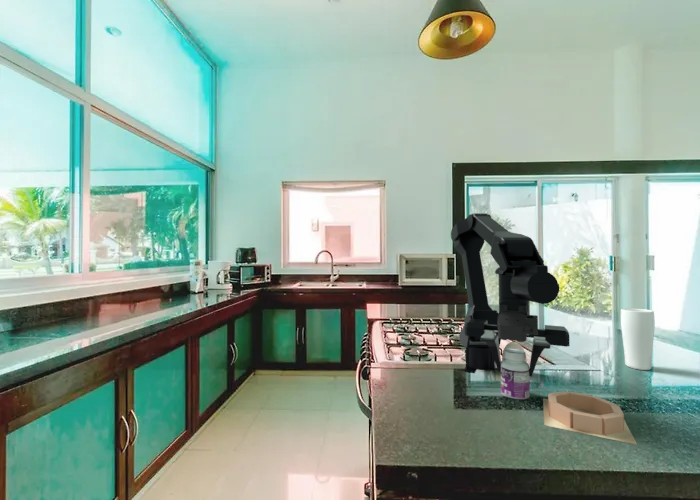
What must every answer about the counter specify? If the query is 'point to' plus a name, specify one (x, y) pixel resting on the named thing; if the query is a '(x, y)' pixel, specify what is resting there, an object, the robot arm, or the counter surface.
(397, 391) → the counter surface
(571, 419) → the collar
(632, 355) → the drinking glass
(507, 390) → the pill bottle
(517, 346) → the egg
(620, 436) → the board
